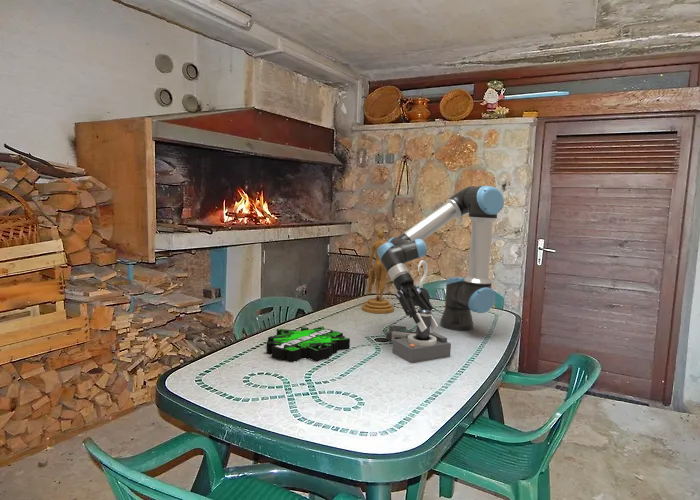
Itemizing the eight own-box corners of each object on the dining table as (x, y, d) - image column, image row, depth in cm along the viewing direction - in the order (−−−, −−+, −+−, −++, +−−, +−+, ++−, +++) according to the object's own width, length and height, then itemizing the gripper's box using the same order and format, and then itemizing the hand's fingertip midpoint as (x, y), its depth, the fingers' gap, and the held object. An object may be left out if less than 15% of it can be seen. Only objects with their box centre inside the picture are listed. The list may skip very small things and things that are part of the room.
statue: (396, 307, 250) (400, 230, 246) (391, 315, 234) (395, 232, 229) (365, 304, 254) (368, 228, 249) (358, 311, 238) (362, 230, 233)
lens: (423, 339, 180) (425, 308, 179) (432, 343, 175) (434, 311, 174) (412, 340, 177) (414, 309, 176) (420, 344, 173) (423, 312, 171)
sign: (305, 357, 158) (244, 338, 175) (305, 369, 159) (244, 349, 176) (360, 335, 185) (302, 321, 202) (359, 346, 185) (302, 331, 202)
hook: (425, 308, 251) (427, 262, 248) (406, 305, 257) (409, 260, 254) (433, 304, 260) (436, 260, 257) (415, 301, 266) (418, 258, 263)
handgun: (440, 338, 201) (437, 348, 186) (389, 332, 206) (383, 342, 192) (440, 328, 200) (438, 338, 186) (390, 323, 206) (383, 332, 191)
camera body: (430, 346, 187) (431, 330, 186) (450, 356, 177) (451, 339, 176) (392, 352, 178) (393, 335, 178) (411, 362, 168) (412, 345, 167)
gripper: (412, 281, 192) (440, 330, 181) (378, 285, 181) (406, 337, 170) (422, 270, 187) (452, 320, 177) (389, 273, 176) (418, 327, 165)
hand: (429, 328), depth 173 cm, fingers closed on lens, 5 cm apart
